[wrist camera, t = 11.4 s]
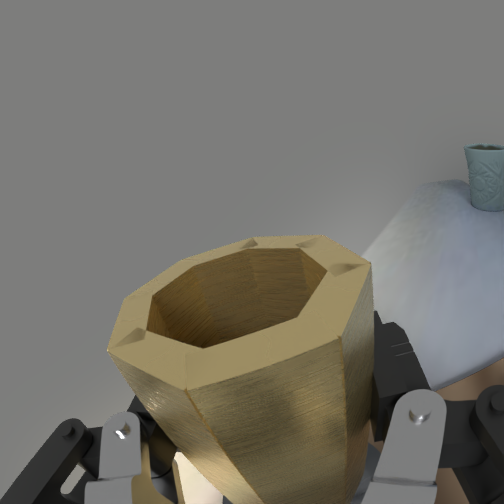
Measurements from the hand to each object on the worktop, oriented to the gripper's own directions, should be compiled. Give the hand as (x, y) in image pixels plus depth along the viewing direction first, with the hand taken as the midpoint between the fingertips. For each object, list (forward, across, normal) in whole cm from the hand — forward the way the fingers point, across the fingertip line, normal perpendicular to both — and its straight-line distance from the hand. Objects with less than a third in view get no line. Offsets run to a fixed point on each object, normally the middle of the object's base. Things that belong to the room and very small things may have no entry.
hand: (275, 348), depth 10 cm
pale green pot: (+41, -41, +12) cm, 59 cm away
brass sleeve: (-3, 0, +6) cm, 7 cm away
